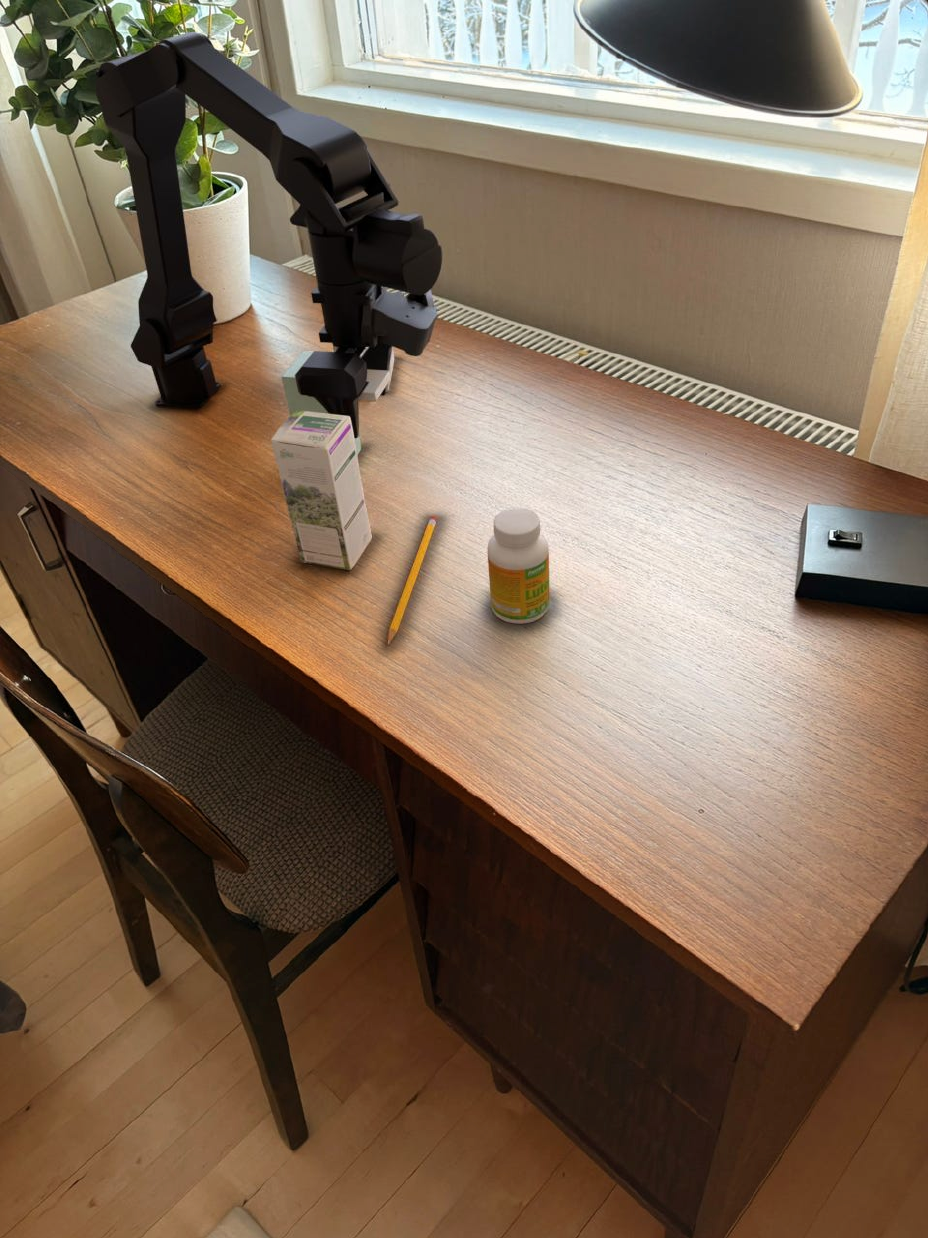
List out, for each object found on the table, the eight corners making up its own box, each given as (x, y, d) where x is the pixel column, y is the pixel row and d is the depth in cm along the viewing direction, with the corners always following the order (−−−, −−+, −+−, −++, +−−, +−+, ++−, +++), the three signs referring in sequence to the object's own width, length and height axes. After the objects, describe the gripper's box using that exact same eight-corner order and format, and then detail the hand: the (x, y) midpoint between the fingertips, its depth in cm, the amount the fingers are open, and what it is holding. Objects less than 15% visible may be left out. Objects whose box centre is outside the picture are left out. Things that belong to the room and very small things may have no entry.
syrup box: (374, 538, 96) (352, 411, 87) (350, 573, 92) (325, 445, 83) (323, 530, 98) (297, 405, 88) (298, 565, 94) (267, 438, 84)
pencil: (437, 521, 98) (437, 515, 98) (392, 647, 84) (391, 642, 84) (430, 520, 98) (429, 515, 98) (384, 647, 84) (383, 641, 84)
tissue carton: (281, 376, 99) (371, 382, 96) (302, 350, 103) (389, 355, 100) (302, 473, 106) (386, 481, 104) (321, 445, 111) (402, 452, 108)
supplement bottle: (531, 632, 84) (529, 546, 78) (480, 614, 86) (473, 528, 80) (559, 597, 87) (559, 511, 81) (509, 581, 90) (505, 496, 83)
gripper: (394, 318, 84) (413, 467, 94) (449, 240, 97) (460, 378, 107) (278, 313, 86) (309, 459, 97) (348, 237, 100) (368, 373, 110)
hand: (367, 415), depth 103 cm, fingers open, 9 cm apart
